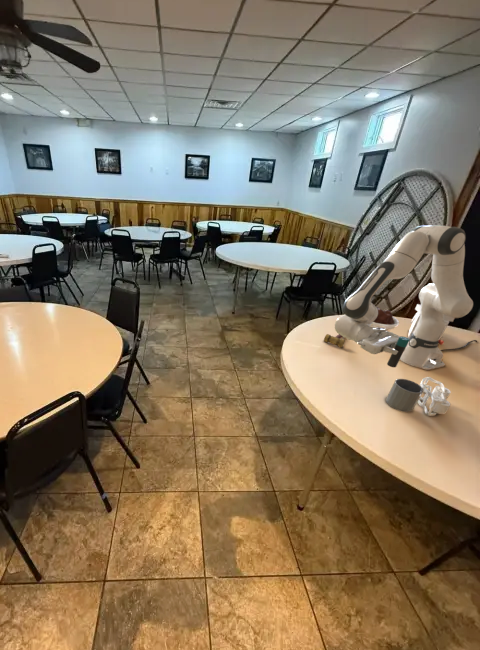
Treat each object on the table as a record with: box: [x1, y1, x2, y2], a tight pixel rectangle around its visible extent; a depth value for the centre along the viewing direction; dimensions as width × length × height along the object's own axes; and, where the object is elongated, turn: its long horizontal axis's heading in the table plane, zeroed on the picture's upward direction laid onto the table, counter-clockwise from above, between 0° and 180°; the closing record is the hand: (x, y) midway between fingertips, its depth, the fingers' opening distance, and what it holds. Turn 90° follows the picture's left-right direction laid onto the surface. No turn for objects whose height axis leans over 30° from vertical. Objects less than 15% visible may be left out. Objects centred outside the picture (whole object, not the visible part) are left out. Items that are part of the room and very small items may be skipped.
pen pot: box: [385, 378, 424, 413], centre depth 129 cm, size 10×10×10 cm
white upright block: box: [407, 303, 456, 340], centre depth 193 cm, size 19×30×18 cm, turn 147°
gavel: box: [323, 333, 346, 348], centre depth 181 cm, size 21×5×10 cm
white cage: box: [417, 376, 452, 417], centre depth 131 cm, size 20×11×7 cm, turn 144°
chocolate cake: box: [370, 306, 400, 332], centre depth 193 cm, size 25×25×15 cm
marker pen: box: [386, 335, 410, 368], centre depth 127 cm, size 4×4×12 cm
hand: (400, 351), depth 126 cm, fingers closed on marker pen, 3 cm apart
